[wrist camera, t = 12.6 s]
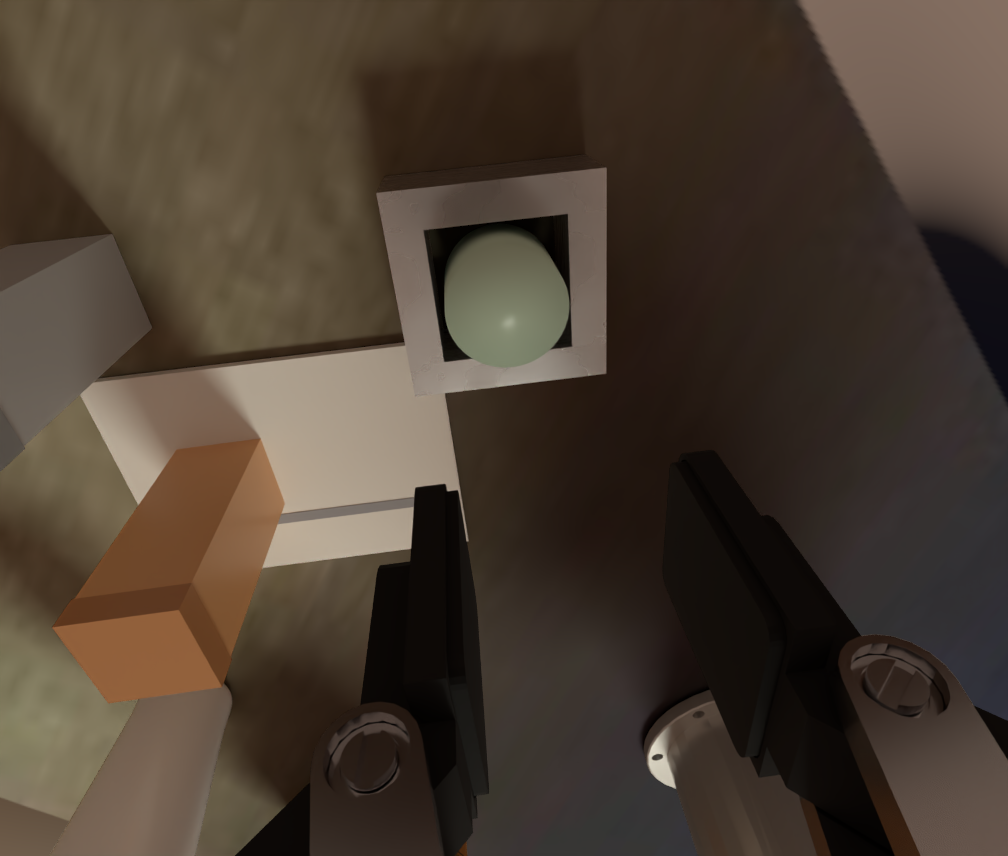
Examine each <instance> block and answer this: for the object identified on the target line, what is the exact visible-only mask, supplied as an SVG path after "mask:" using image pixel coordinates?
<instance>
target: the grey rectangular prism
mask: <svg viewBox="0 0 1008 856" xmlns="http://www.w3.org/2000/svg"><path fill="white" fill-rule="evenodd" d="M151 329H152V326H151V324H150V321H149V319H148V317H147V314H146V312H145V309H144V307H143V305H142V302H141V300H140V298H139V295H138V293H137V291H136V288H135V286H134V284H133V281H132V279H131V277H130V274H129V272H128V270H127V267H126V265H125V263H124V260H123V258H122V255H121V253H120V251H119V248H118V246H117V244H116V241H115V239H114V237H113V234H106V235H97V236H88V237H79V238H70V239H61V240H52V241H43V242H34V243H25V244H16V245H9V246H7V247H4V248H2V249H0V471H2V470H3V469H4V468H5V467H6V466H7V465H8V464H9V463H10V462H11V461H12V460H13V459H14V458H16V457H17V456H18V455H19V454H20V453H21V452H22V451H23V450H24V449H25V447H24V446H25V445H26V444H27V443H28V442H29V441H30V440H31V439H32V438H33V437H34V436H36V435H37V434H38V433H39V432H40V431H41V430H42V429H43V428H44V427H45V426H46V425H48V424H49V423H50V422H51V421H52V420H53V419H54V418H55V417H56V416H57V415H58V414H60V413H61V412H62V411H63V410H64V409H65V408H66V407H67V406H68V405H69V404H70V403H71V402H73V401H74V400H75V399H76V398H77V397H78V396H79V395H80V394H81V393H82V392H83V391H85V390H86V389H87V388H88V387H89V386H90V385H91V384H92V383H93V382H94V381H95V380H97V379H98V378H99V377H100V376H101V375H102V374H103V373H104V372H105V371H106V370H107V369H109V368H110V367H111V366H112V365H113V364H114V363H115V362H116V361H117V360H118V359H119V358H120V357H122V356H123V355H124V354H125V353H126V352H127V351H128V350H129V349H130V348H131V347H132V346H134V345H135V344H136V343H137V342H138V341H139V340H140V339H141V338H142V337H143V336H144V335H146V334H147V333H148V332H149V331H150V330H151Z"/></svg>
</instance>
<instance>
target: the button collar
mask: <svg viewBox="0 0 1008 856" xmlns="http://www.w3.org/2000/svg"><path fill="white" fill-rule="evenodd" d="M376 194H377V200H378V205H379V210H380V215H381V221H382V226H383V231H384V236H385V242H386V247H387V252H388V257H389V263H390V268H391V273H392V278H393V283H394V289H395V294H396V299H397V304H398V310H399V315H400V320H401V325H402V331H403V336H404V341H405V346H406V352H407V357H408V362H409V367H410V372H411V378H412V383H413V388H414V393H415V397H418V396H427V395H435V394H443V393H451V392H460V391H468V390H476V389H484V388H493V387H501V386H509V385H517V384H526V383H534V382H542V381H550V380H559V379H567V378H575V377H583V376H592V375H600V374H606V252H607V167H605V166H603V165H602V164H600V163H599V162H597V161H596V160H594V159H592V158H591V157H589V156H588V155H586V154H585V155H575V156H566V157H557V158H548V159H539V160H530V161H521V162H512V163H503V164H494V165H485V166H476V167H466V168H457V169H448V170H439V171H430V172H421V173H412V174H403V175H394V176H385V177H384V178H383V180H382V182H381V184H380V186H379V188H378V190H377V192H376ZM544 216H553V218H554V241H555V264H556V268H557V270H558V271H559V273H560V275H561V277H562V278H563V280H564V282H565V285H566V287H567V291H568V295H569V315H568V320H567V323H566V327H565V329H564V331H563V333H562V335H561V336H560V338H559V340H558V341H557V342H556V343H555V345H554V346H553V347H552V348H551V349H550V350H549V351H548V352H547V353H545V354H544V355H543V356H541V357H540V358H538V359H536V360H534V361H532V362H530V363H528V364H524V365H521V366H516V367H506V368H504V367H494V366H489V365H486V364H482V363H480V362H478V361H476V360H474V359H472V358H471V357H469V356H468V355H467V354H465V353H464V352H463V351H462V350H461V349H460V348H459V347H458V346H457V344H456V343H455V342H454V340H453V338H452V337H451V335H450V333H449V330H448V329H444V328H443V321H442V314H441V308H440V301H439V295H438V288H437V281H436V275H435V268H434V262H433V255H432V249H431V242H430V235H429V229H438V228H447V227H456V226H464V225H473V224H482V223H491V222H500V221H509V220H517V219H526V218H535V217H544Z"/></svg>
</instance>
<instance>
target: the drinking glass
mask: <svg viewBox="0 0 1008 856" xmlns="http://www.w3.org/2000/svg"><path fill="white" fill-rule="evenodd" d="M231 708H232V695H231V692H230V690H229V689H228V687H227V686H226V685H225V684H224V683H223V686H222V687H220V688H213V689H206V690H199V691H192V692H185V693H178V694H170V695H163V696H156V697H149V698H142V699H138V701H137V703H136V706H135V708H134V710H133V712H132V714H131V716H130V717H129V719H128V721H127V723H126V725H125V726H124V728H123V730H122V732H121V733H120V735H119V737H118V739H117V740H116V742H115V744H114V745H113V747H112V749H111V751H110V752H109V754H108V756H107V758H106V759H105V761H104V763H103V764H102V766H101V768H100V770H99V771H98V773H97V775H96V777H95V778H94V780H93V782H92V783H91V785H90V787H89V789H88V790H87V792H86V794H85V795H84V797H83V799H82V800H81V802H80V804H79V806H78V807H77V809H76V811H75V812H74V814H73V816H72V818H71V819H70V821H69V823H68V824H67V826H66V828H65V830H64V831H63V833H62V835H61V836H60V838H59V840H58V841H57V843H56V845H55V847H54V849H53V850H52V852H51V853H50V855H49V856H195V855H196V850H197V846H198V842H199V837H200V833H201V828H202V824H203V820H204V815H205V811H206V806H207V802H208V798H209V793H210V789H211V785H212V781H213V776H214V772H215V768H216V763H217V759H218V755H219V751H220V747H221V743H222V738H223V734H224V731H225V728H226V724H227V721H228V718H229V715H230V712H231Z"/></svg>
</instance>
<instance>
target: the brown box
mask: <svg viewBox="0 0 1008 856" xmlns="http://www.w3.org/2000/svg"><path fill="white" fill-rule="evenodd" d="M284 505H285V502H284V499H283V497H282V494H281V491H280V489H279V486H278V483H277V481H276V478H275V475H274V473H273V470H272V467H271V465H270V462H269V459H268V457H267V454H266V451H265V449H264V446H263V443H262V441H261V438H260V439H252V440H245V441H237V442H229V443H222V444H214V445H206V446H199V447H191V448H184V449H177V450H176V451H175V453H174V454H173V455H172V457H171V458H170V460H169V461H168V463H167V464H166V466H165V467H164V469H163V470H162V472H161V473H160V475H159V476H158V477H157V479H156V480H155V482H154V483H153V485H152V486H151V488H150V489H149V491H148V492H147V494H146V495H145V496H144V498H143V499H142V501H141V502H140V504H139V505H138V507H137V508H136V510H135V511H134V513H133V514H132V515H131V517H130V518H129V520H128V521H127V523H126V524H125V526H124V527H123V529H122V530H121V532H120V533H119V534H118V536H117V537H116V539H115V540H114V542H113V543H112V545H111V546H110V548H109V549H108V551H107V552H106V554H105V555H104V556H103V558H102V559H101V561H100V562H99V564H98V565H97V567H96V568H95V570H94V571H93V573H92V574H91V575H90V577H89V578H88V580H87V581H86V583H85V584H84V586H83V587H82V589H81V590H80V592H79V593H78V594H77V596H76V597H75V599H71V601H70V602H69V604H68V605H67V607H66V608H65V609H64V611H63V612H62V614H61V615H60V617H59V618H58V620H57V621H56V622H55V624H54V625H53V627H52V628H53V629H54V631H55V632H56V633H57V635H58V636H59V637H60V639H61V640H62V641H63V643H64V644H65V645H66V647H67V648H68V650H69V651H70V652H71V654H72V655H73V656H74V658H75V659H76V660H77V662H78V663H79V664H80V666H81V667H82V668H83V670H84V671H85V672H86V674H87V675H88V676H89V678H90V679H91V680H92V682H93V683H94V685H95V686H96V687H97V689H98V690H99V691H100V693H101V694H102V695H103V697H104V698H105V699H106V701H107V702H108V703H114V702H121V701H128V700H135V699H142V698H149V697H156V696H163V695H170V694H178V693H185V692H192V691H199V690H206V689H213V688H220V687H222V686H223V683H224V680H225V678H226V675H227V672H228V669H229V666H230V663H231V660H232V658H231V655H232V652H233V649H234V646H235V643H236V641H237V638H238V635H239V632H240V629H241V627H242V624H243V621H244V618H245V615H246V612H247V610H248V607H249V604H250V601H251V598H252V595H253V593H254V590H255V587H256V584H257V581H258V578H259V576H260V573H261V570H262V567H263V564H264V562H265V559H266V556H267V553H268V550H269V547H270V545H271V542H272V539H273V536H274V533H275V530H276V528H277V525H278V522H279V519H280V516H281V513H282V511H283V508H284Z"/></svg>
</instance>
